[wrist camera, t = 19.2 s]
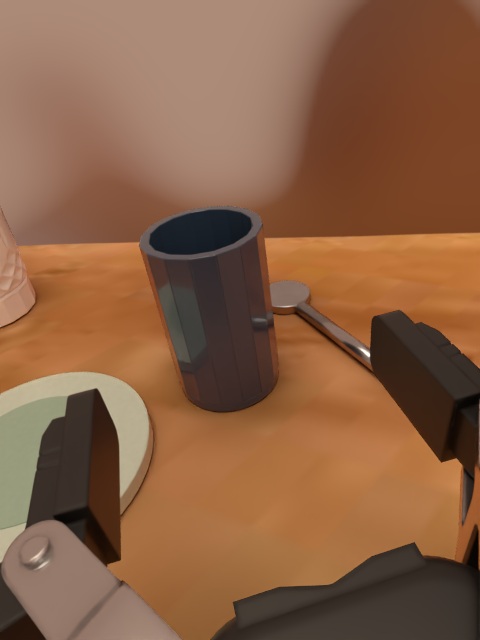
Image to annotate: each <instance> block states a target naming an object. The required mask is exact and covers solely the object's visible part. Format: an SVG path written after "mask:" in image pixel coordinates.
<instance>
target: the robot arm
mask: <svg viewBox="0 0 480 640" xmlns="http://www.w3.org/2000/svg"><path fill="white" fill-rule="evenodd" d="M370 362H371V366H372V369H373V371H374V373H375V375H376V377H377V378H378V379H379V381H380V382H381V383H382V385H383V386H384V387H385V389H386V390H387V391H388V393H389V394H390V395H391V397H392V398H393V399H394V400H395V402H396V403H397V404H398V406H399V407H400V408H401V410H402V411H403V412H404V414H405V415H406V416H407V418H408V419H409V420H410V422H411V423H412V424H413V426H414V427H415V428H416V430H417V431H418V432H419V434H420V435H421V436H422V438H423V439H424V440H425V442H426V443H427V444H428V446H429V447H430V448H431V450H432V451H433V452H434V454H435V455H436V456H437V457H438V459H439V460H440V461H441V463H442V462H445V461H448V460H451V459H455V458H457V459H458V460H459V462H460V463H461V464H462V469H461V481H460V505H459V530H458V541H457V548H456V554H455V561H454V560H451V559H447V558H442V557H436V556H422V554H421V552H420V551H419V549H418V547H417V546H416V544H415V542H414V543H411V544H408V545H405V546H402V547H399V548H396V549H393V550H390V551H387V552H384V553H381V554H377V555H374V556H372V557H370V558H369V559H367V560H366V561H365V562H363V563H362V564H360V565H359V566H358V567H356V568H355V569H353V570H352V571H350V572H349V573H348V574H346V575H345V576H343V577H342V578H341V579H339V580H338V581H336V582H335V583H333V584H330V585H319V586H291V587H278V588H275V589H271V590H268V591H265V592H262V593H259V594H256V595H253V596H250V597H247V598H244V599H241V600H238V601H235V602H233V605H234V609H235V614H236V617H234V618H233V619H232V620H230V621H229V622H227V623H226V624H225V625H224V626H223V627H222V628H221V629H220V630H219V631H217V633H216V634H215V635H214V636H213V637H212V638H211V640H480V369H479V368H478V367H477V366H476V365H475V364H474V363H473V362H472V361H471V360H470V359H468V358H467V357H466V356H465V355H464V354H461V352H460V350H459V349H458V348H457V347H456V346H454V345H453V344H451V343H450V341H449V340H448V339H447V338H446V337H445V336H444V335H443V334H442V333H441V332H439V331H438V330H436V329H434V328H432V327H430V326H428V325H426V324H424V323H422V322H420V323H416V324H415V323H414V322H413V321H412V320H411V319H410V318H409V317H408V316H407V315H405V314H404V313H403V312H402V311H400V310H397V311H393V312H389V313H385V314H381V315H378V316H374V317H373V319H372V325H371V344H370ZM36 469H37V471H35V477H34V483H33V488H32V494H31V500H30V505H29V511H28V516H27V522H26V527H25V530H24V531H23V532H22V533H20V534H19V535H18V536H17V537H16V538H15V539H14V541H13V542H12V543H11V544H10V546H9V548H8V549H7V551H6V553H5V555H4V558H3V561H2V562H1V563H0V640H182V639H181V638H180V637H179V636H178V635H177V634H176V633H175V632H174V631H173V630H172V629H171V628H170V627H169V626H168V625H167V624H166V623H165V621H164V620H163V619H162V618H161V617H160V616H159V615H158V614H157V613H156V612H155V611H154V610H153V609H152V608H151V607H150V606H149V605H148V604H147V603H146V602H145V601H144V600H143V599H142V598H141V597H140V596H139V595H138V594H137V593H136V592H135V591H134V590H133V589H132V588H131V587H130V586H129V585H128V584H127V583H125V582H124V581H120V580H119V579H117V578H116V577H115V576H114V575H113V574H112V572H111V571H110V570H109V569H108V568H107V564H110V563H113V562H116V561H120V560H121V533H120V453H119V439H118V434H117V430H116V427H115V424H114V422H113V420H112V418H111V416H110V413H109V411H108V409H107V407H106V404H105V402H104V400H103V398H102V396H101V393H100V391H99V390H98V389H97V388H94V389H91V390H87V391H83V392H79V393H75V394H72V395H69V396H68V398H67V403H66V411H65V416H63V417H59V418H56V419H52V421H51V422H50V424H49V426H48V427H47V429H46V430H45V432H44V434H43V435H42V438H41V443H40V449H39V457H38V460H37V466H36Z"/></svg>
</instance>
